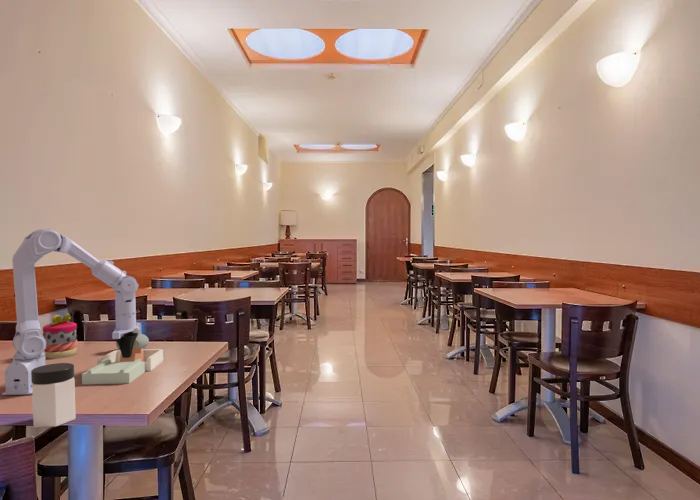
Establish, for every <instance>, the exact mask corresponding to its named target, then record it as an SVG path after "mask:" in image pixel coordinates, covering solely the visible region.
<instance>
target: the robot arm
mask: <svg viewBox="0 0 700 500" xmlns="http://www.w3.org/2000/svg"><path fill="white" fill-rule="evenodd" d="M52 252H57V253H62V254H67V255H69V256H70V257H72V258H74V259H75V260H76V261H78V262H80V263H81V264H84V265H85V266H87V267H88V268H90V271H91V274H92V276H94V277H95V278H96V279H98V280H100V281H101V282H103V283H104V284H106V285H107V286H108V287H111V289H112V290H113V291H114V293H115V294H114V295H115V297H114V298H115V300H114V303H115V306H114V307H115V309H114V310H115V328H114V331H113V332H111V336H112V337H111V339H112V340H115V343H116V342H117V343H118V345H119V348H120V351H121V354H122V357H123V358H129V357H131V354H132V350H133V345H134V342H135V340H136V338H137V336H138V333H133V331H135V330H140V327H139V324H136V322H137V310H136V308H137V307H136V306H137V305H136V303H137V301H136V293H137V291H138V289H139V285H140V284H138V282H137V279H136V278H135V277H133V276H131V275H127V271H126V270H121V269H120V268H119V267H117V266H115V262H114V261H112V260H107V259H100V260H99V258H97V257H95V256H93V255H92V254H91V253H90V252H88V251H87V250H86V249H84V248H83V247H82V246H80V244H78V243H77V242H75V241H74V240H72V239H71V238H69V237H67V236H66V235H63V234H60V233H59V232H58V231H57V230H55V229H51V228H44V229H36V230H34V231H32V232H31V233H29V234H28V235H26V236H25V237H24V239H23V241H22V242H21V243H20V245H19V247H18V248H17V250H16V251H15V252H14V254H13V255H12V273H13V274H12V275H13V285H14V286H13V287H14V297H15V298H14V299H15V313H16V325H15V335H14V337H13V340H12V346H13V348H14V349H15V351H16V352H15V353H14V355H13V357H12V358H13V359H12V362H11V363H10V364H8V366H7V367H6V368H5V371H4V376H5V377H4V378H5V380H4V381H5V385H4V387H5V391H4V392H2V396H14V395H15V396H16V395H19V396H20V395H32V382H31V371H32V370H33V369H34V368H37V367H40V366H44V365H47V364H46V358H45V352H44V350H45V348H46V340H45V339H44V336H43V333H42V328H41V325H40V321H39V311H38V309H39V308H38V297H37V296H38V294H37V283H36V282H37V281H36V269H35V264H36V263H37V262H38V261H40V260H41V259H42V258H43V257H44V256H45V255H48V254H50V253H52Z"/></svg>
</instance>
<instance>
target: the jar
mask: <svg viewBox="0 0 700 500" xmlns="http://www.w3.org/2000/svg"><path fill="white" fill-rule="evenodd" d="M75 381H76V380H75V365H74V364H73V363H72V362H71V363H70V362H61V363H60V362H59V363H56V362H55V363H51V364H46V365H44V366H40V367H37V368H34V369H33V370H32V371H31V382H32V394H31V396H32V424H33V428H35V429H37V428H54V427H59V426H61V425H64V424H66V423H69V422H71V421H75V419H76V385H75V383H76V382H75Z"/></svg>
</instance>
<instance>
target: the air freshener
mask: <svg viewBox="0 0 700 500" xmlns="http://www.w3.org/2000/svg"><path fill="white" fill-rule="evenodd" d="M136 324H139V327H140V330H135V331H133V333H138V336H137V338H136V340H135V342H134V345H133V349H139V348H142V349H144V350H145V348H147V346H148V345H149V343H150V339H149V337H148V336H147V335H146V334H143V333H142V324H141V322H138V321H136ZM115 343H116V344H115V346H116V347H117V350H120V348H119V345H118V343H117V342H116V341H115Z"/></svg>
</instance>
